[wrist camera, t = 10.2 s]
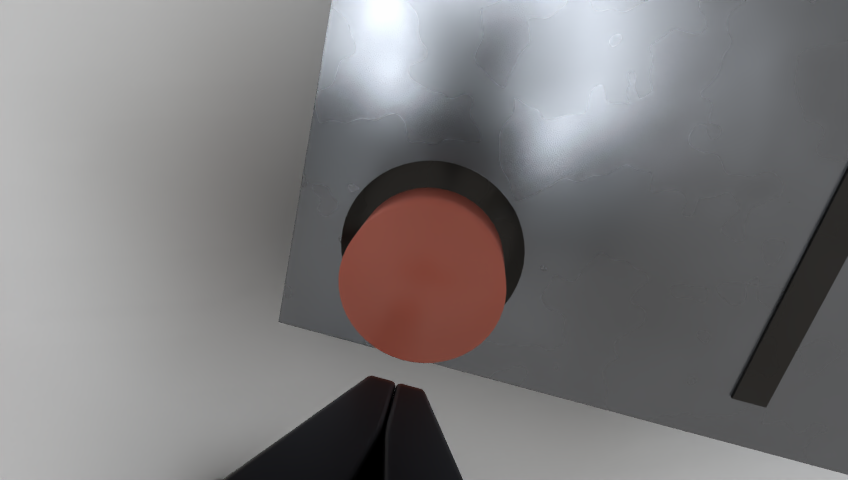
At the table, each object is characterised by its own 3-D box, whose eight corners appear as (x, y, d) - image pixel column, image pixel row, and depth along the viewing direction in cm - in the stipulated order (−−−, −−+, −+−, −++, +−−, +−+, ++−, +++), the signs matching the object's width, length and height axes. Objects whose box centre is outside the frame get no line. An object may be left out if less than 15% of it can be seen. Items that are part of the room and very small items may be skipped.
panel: (877, 449, 18) (983, 552, 14) (299, 295, 18) (251, 355, 15) (1286, -187, 12) (1654, -302, 8) (420, -387, 13) (392, -581, 9)
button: (480, 341, 15) (480, 380, 13) (344, 305, 15) (325, 338, 13) (522, 209, 14) (528, 232, 12) (372, 170, 14) (355, 187, 12)
